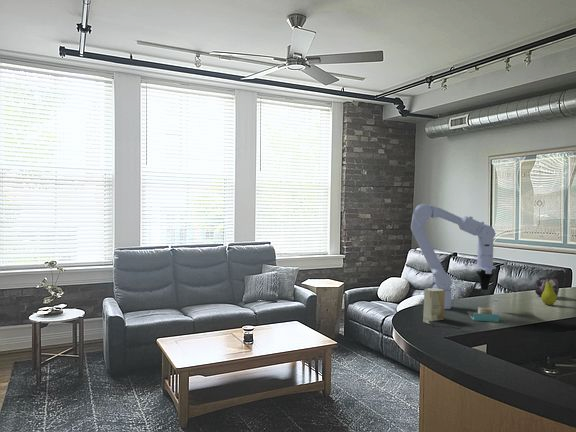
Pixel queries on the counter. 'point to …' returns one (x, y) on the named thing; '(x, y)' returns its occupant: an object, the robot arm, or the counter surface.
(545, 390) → the counter surface
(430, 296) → the skincare box
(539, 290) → the mineral specimen
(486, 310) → the maple block
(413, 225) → the robot arm
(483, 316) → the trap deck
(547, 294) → the fruit
